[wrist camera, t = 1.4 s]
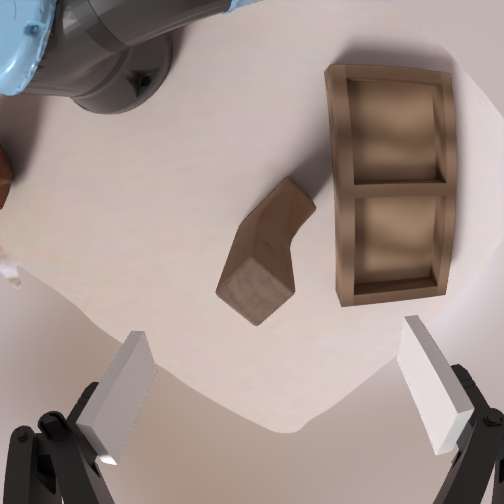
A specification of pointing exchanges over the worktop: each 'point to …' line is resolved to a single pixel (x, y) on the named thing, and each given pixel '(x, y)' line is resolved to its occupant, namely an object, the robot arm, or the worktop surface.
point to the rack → (392, 181)
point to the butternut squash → (4, 177)
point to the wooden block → (265, 254)
